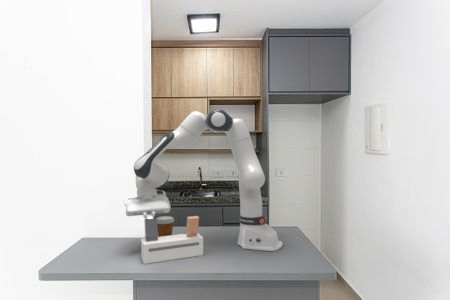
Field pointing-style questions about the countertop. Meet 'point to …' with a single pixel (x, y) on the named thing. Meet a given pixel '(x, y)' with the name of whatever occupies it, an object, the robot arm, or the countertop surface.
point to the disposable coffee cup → (165, 225)
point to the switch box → (171, 248)
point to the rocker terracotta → (192, 225)
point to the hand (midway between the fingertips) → (150, 221)
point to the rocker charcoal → (151, 229)
